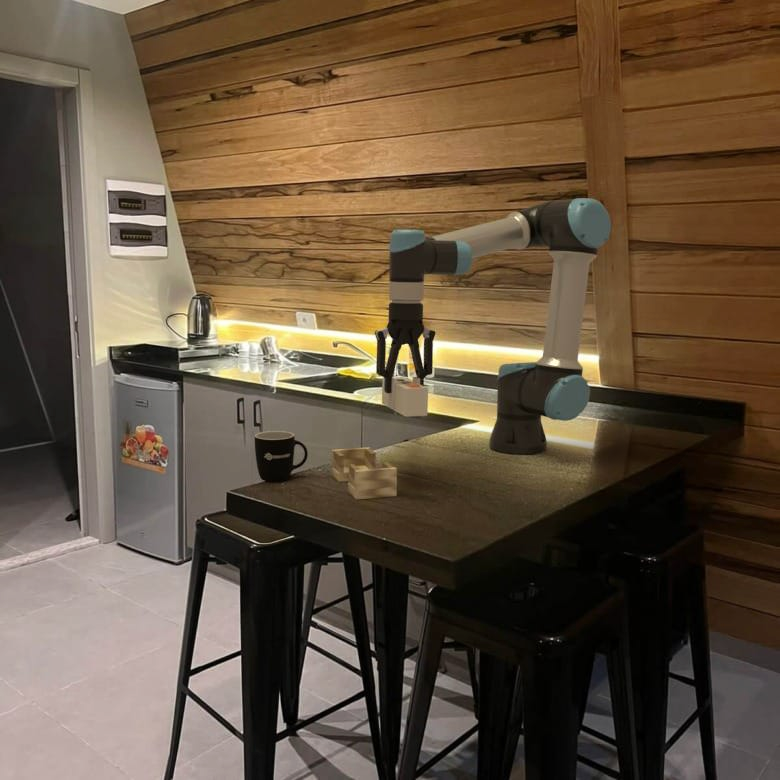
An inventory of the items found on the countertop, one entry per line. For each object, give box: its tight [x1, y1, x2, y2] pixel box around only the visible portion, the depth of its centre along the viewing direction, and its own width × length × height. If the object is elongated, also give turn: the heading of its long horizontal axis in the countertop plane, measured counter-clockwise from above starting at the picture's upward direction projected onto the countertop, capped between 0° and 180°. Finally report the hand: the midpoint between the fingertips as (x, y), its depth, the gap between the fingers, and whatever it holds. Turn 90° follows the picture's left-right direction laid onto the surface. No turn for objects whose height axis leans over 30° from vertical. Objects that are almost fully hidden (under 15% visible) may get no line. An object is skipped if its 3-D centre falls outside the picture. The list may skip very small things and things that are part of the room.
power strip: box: [381, 376, 429, 417], centre depth 177 cm, size 5×16×6 cm, turn 19°
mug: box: [254, 430, 309, 483], centre depth 181 cm, size 12×9×10 cm
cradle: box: [331, 446, 398, 501], centre depth 176 cm, size 9×20×6 cm, turn 19°
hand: (403, 406), depth 177 cm, fingers closed on power strip, 5 cm apart
